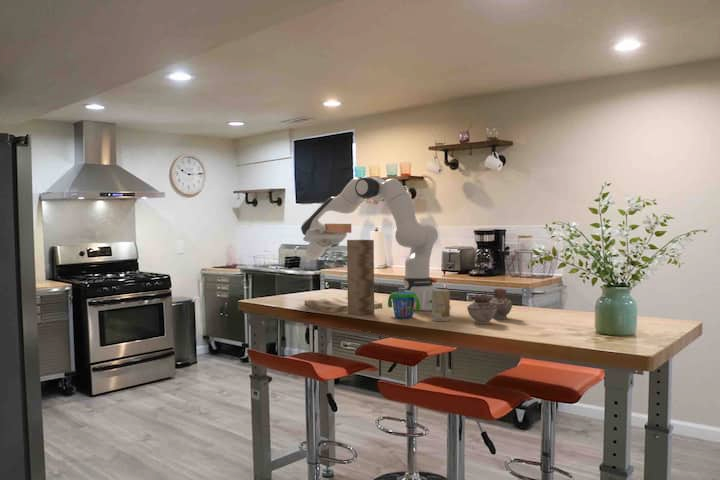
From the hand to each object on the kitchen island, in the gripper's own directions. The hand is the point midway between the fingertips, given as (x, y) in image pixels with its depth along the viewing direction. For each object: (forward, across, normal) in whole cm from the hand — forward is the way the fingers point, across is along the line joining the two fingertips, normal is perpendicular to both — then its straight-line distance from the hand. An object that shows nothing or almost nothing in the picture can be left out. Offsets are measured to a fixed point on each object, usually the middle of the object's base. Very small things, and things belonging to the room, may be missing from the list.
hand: (331, 226), depth 266 cm
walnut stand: (+5, +2, +46) cm, 46 cm away
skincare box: (+33, +22, +62) cm, 74 cm away
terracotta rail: (+5, 0, +6) cm, 8 cm away
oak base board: (-16, +4, +34) cm, 38 cm away
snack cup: (+21, +13, +55) cm, 60 cm away
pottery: (+42, +39, +67) cm, 88 cm away
